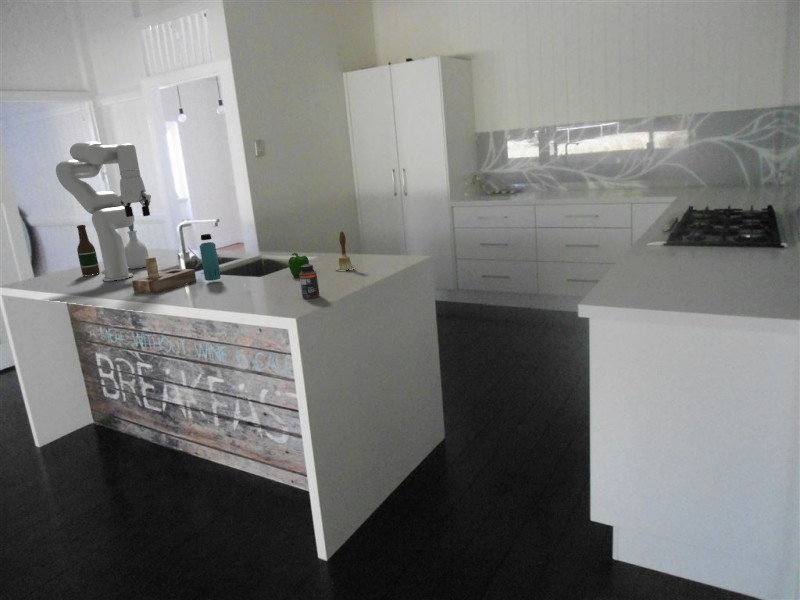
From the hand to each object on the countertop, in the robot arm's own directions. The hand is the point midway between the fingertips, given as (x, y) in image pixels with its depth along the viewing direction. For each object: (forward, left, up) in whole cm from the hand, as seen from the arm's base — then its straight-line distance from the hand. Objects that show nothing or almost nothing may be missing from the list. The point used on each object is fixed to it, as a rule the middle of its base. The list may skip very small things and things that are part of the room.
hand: (138, 216), depth 254 cm
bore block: (+17, -8, -28) cm, 34 cm away
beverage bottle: (+34, +1, -28) cm, 44 cm away
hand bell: (+81, +28, -29) cm, 90 cm away
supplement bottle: (+92, -16, -28) cm, 98 cm away
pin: (+17, -13, -27) cm, 35 cm away
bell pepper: (+67, +15, -28) cm, 74 cm away
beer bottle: (-49, +10, -28) cm, 58 cm away
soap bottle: (-36, +27, -28) cm, 53 cm away
